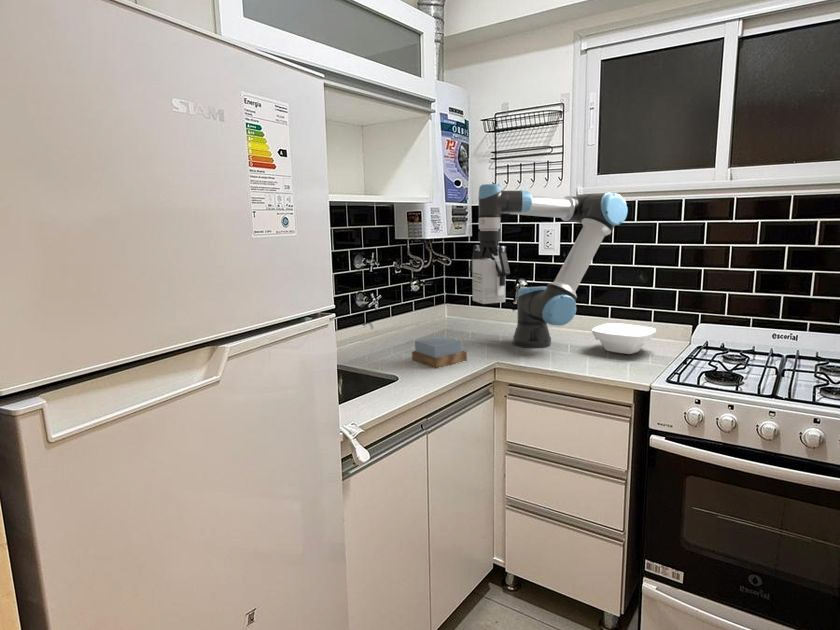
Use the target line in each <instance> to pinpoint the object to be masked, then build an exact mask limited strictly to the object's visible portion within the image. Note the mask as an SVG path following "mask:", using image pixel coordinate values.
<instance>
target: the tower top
mask: <svg viewBox="0 0 840 630" xmlns="http://www.w3.org/2000/svg"><path fill="white" fill-rule="evenodd" d="M462 342H463V341H462V340H458V339H455V338H451V337H447V336H443V335H437V336H433V337H427V338H422V339H416V340H414V351H416V352H419V353H422V354H425V355H428V356H431V357H434V358H437V357H442V356H446V355H451V354H456V353H460V352H462V351H463V343H462Z"/></svg>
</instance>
